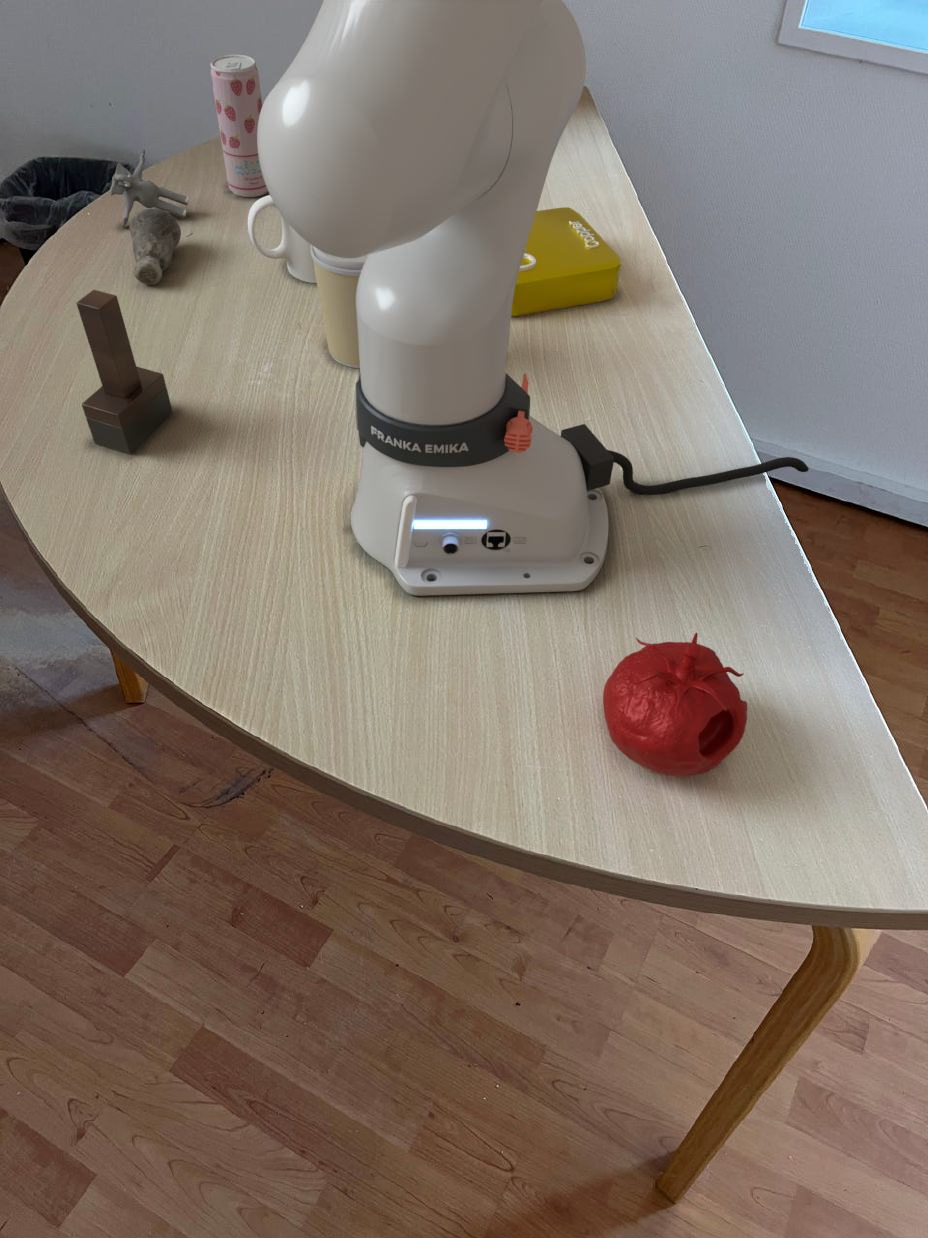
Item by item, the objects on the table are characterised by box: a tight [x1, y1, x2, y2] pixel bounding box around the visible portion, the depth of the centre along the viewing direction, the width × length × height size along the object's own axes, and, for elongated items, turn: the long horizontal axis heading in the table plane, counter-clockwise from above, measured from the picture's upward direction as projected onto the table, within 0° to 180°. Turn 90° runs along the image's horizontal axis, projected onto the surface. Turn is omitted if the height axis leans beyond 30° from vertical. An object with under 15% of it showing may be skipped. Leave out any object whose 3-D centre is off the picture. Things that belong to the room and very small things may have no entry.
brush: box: [75, 289, 174, 455], centre depth 83 cm, size 7×4×14 cm, turn 158°
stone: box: [128, 208, 182, 286], centre depth 107 cm, size 10×5×8 cm
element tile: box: [511, 206, 622, 317], centre depth 107 cm, size 15×15×5 cm
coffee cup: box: [311, 245, 369, 370], centre depth 94 cm, size 9×9×12 cm
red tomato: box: [602, 632, 748, 777], centre depth 64 cm, size 10×10×9 cm
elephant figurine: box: [109, 148, 190, 228], centre depth 114 cm, size 10×6×9 cm
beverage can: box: [210, 54, 269, 198], centre depth 116 cm, size 6×6×15 cm
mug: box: [247, 194, 317, 284], centre depth 105 cm, size 12×8×10 cm
